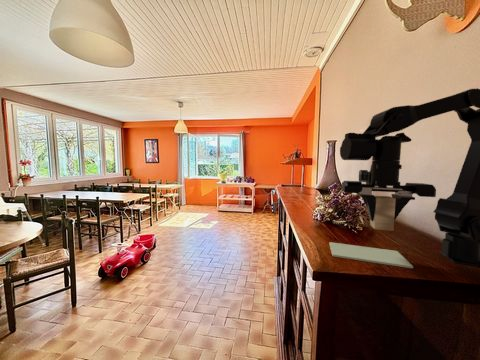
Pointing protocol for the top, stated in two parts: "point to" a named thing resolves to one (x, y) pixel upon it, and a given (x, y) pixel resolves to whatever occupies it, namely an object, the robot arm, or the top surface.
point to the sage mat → (369, 254)
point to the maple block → (383, 213)
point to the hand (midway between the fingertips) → (381, 221)
